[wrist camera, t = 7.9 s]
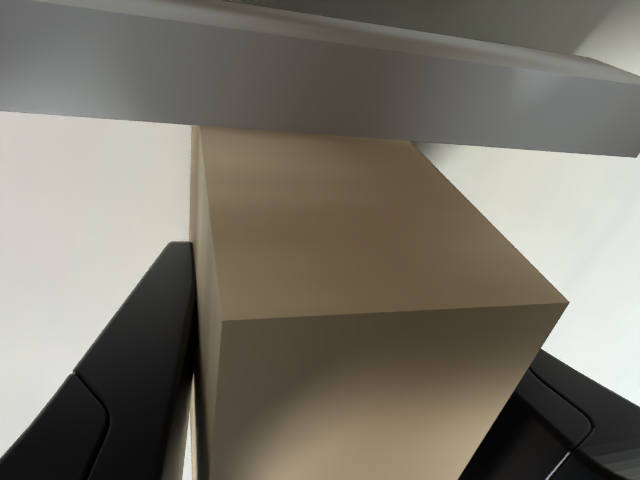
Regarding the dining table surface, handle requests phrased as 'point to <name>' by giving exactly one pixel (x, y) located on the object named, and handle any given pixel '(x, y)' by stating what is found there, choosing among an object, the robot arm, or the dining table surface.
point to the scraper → (331, 216)
